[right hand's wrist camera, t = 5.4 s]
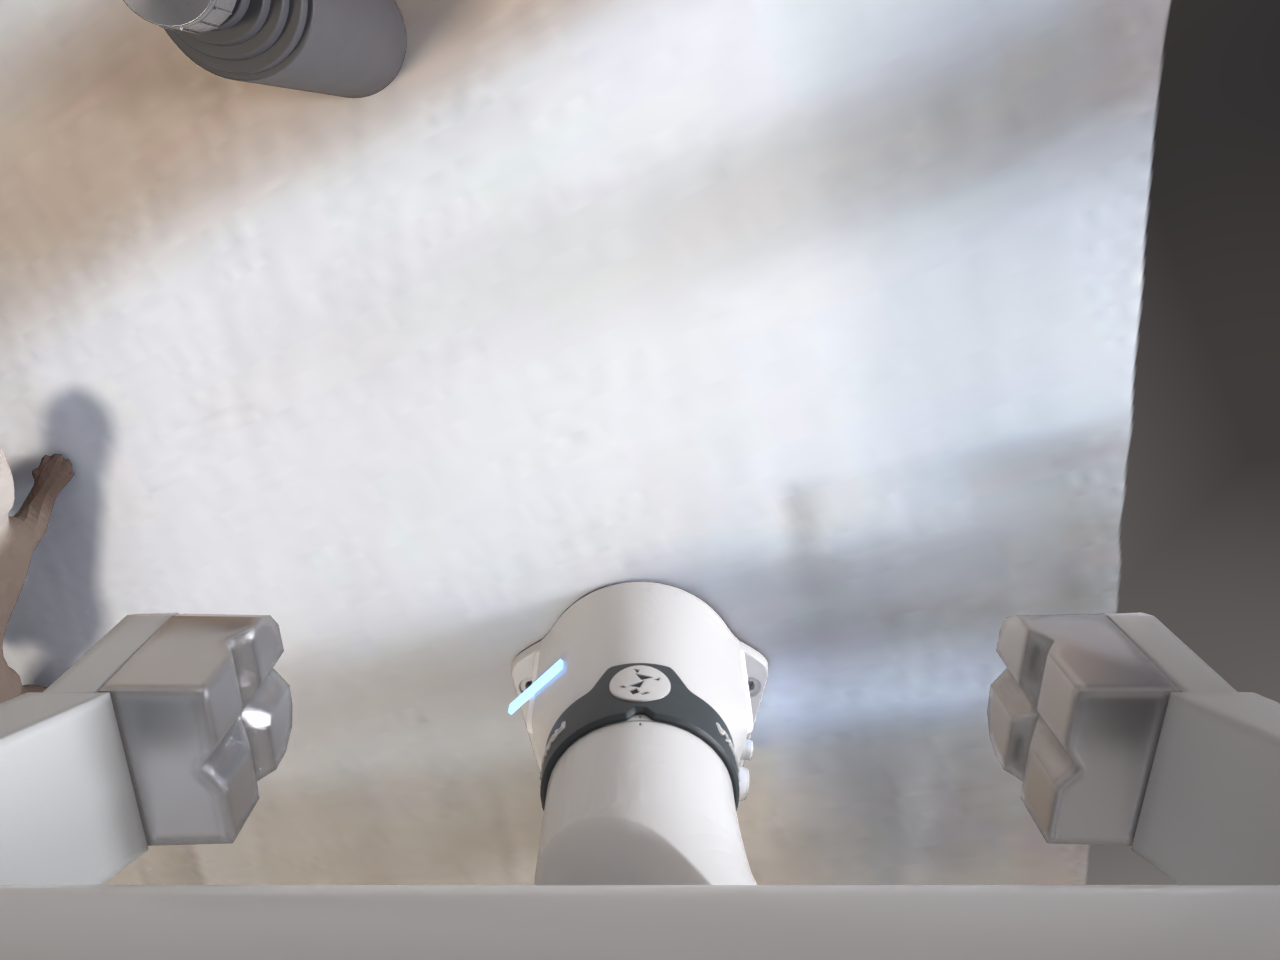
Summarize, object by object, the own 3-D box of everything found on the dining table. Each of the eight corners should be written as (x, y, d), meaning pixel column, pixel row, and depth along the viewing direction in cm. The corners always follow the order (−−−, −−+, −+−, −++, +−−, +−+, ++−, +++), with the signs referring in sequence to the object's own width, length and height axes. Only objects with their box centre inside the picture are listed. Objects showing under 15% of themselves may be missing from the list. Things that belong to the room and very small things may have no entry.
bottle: (425, 10, 50) (290, -73, 31) (378, 120, 53) (223, 107, 33) (316, -56, 49) (104, -186, 30) (272, 58, 51) (47, 7, 32)
